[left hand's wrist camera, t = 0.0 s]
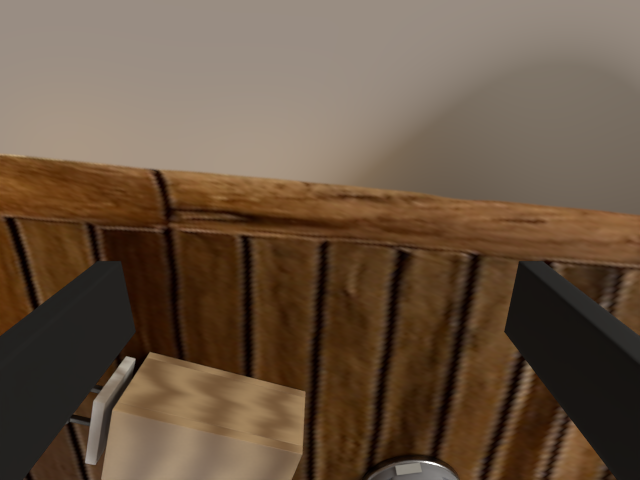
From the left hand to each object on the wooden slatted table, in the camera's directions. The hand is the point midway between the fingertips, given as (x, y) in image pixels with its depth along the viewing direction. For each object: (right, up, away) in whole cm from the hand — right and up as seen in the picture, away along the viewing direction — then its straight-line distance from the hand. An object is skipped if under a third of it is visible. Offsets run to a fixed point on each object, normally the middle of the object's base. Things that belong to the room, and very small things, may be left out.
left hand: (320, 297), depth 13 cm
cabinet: (-13, -20, +38) cm, 45 cm away
